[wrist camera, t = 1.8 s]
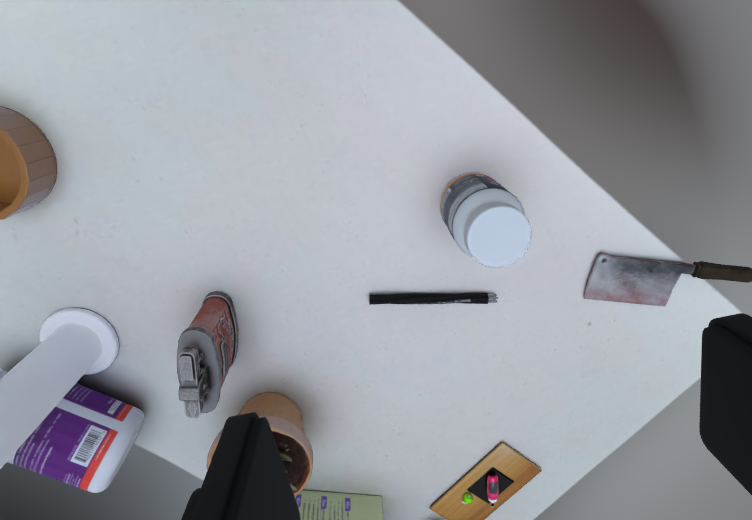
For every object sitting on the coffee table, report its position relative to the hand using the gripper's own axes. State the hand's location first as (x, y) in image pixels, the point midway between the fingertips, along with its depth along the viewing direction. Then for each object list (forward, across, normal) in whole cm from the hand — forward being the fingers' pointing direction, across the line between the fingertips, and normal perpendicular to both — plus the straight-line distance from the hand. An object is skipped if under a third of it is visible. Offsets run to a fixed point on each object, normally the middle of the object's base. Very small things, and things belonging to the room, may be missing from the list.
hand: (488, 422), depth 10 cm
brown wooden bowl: (+34, +31, -7) cm, 47 cm away
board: (+35, -4, +39) cm, 53 cm away
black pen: (+34, -2, +13) cm, 36 cm away
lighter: (+35, +19, +12) cm, 42 cm away
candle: (+35, +32, +10) cm, 49 cm away
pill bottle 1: (+31, +30, +22) cm, 48 cm away
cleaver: (+34, -24, +20) cm, 46 cm away
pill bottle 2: (+35, -7, +5) cm, 36 cm away
